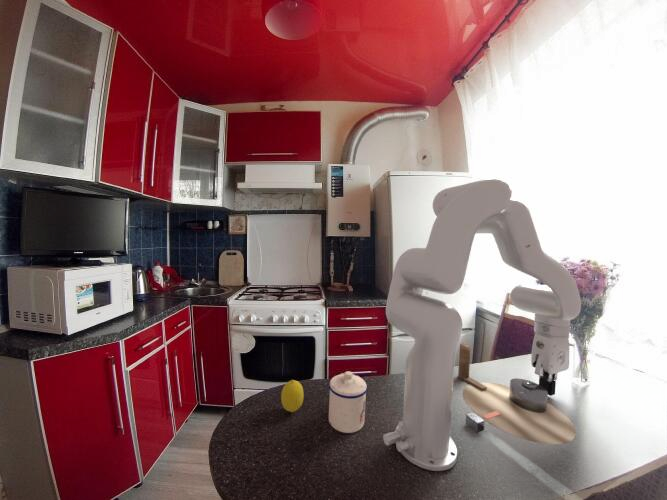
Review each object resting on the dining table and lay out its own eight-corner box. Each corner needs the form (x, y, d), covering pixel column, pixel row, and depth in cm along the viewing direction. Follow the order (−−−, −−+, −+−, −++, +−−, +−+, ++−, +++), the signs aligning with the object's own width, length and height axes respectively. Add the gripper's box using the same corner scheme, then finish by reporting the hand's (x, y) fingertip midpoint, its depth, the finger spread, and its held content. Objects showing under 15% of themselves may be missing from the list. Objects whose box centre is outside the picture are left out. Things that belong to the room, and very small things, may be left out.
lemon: (276, 411, 62) (277, 379, 62) (293, 401, 66) (295, 372, 66) (289, 423, 59) (291, 389, 58) (307, 412, 63) (308, 380, 62)
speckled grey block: (476, 433, 58) (477, 422, 58) (465, 424, 61) (466, 414, 61) (483, 430, 59) (484, 420, 59) (472, 421, 62) (472, 412, 62)
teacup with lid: (369, 434, 56) (371, 383, 56) (328, 435, 55) (331, 383, 55) (359, 400, 68) (361, 358, 68) (325, 400, 67) (327, 358, 67)
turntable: (539, 467, 49) (543, 409, 49) (429, 386, 76) (431, 348, 75) (602, 433, 59) (605, 385, 59) (485, 372, 86) (487, 339, 85)
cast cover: (535, 415, 63) (536, 394, 63) (502, 397, 70) (503, 377, 70) (553, 408, 66) (554, 388, 66) (520, 391, 73) (521, 373, 73)
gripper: (551, 336, 65) (546, 406, 65) (582, 331, 70) (577, 394, 71) (520, 327, 71) (516, 390, 72) (550, 322, 77) (546, 380, 78)
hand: (546, 392), depth 72 cm, fingers closed
